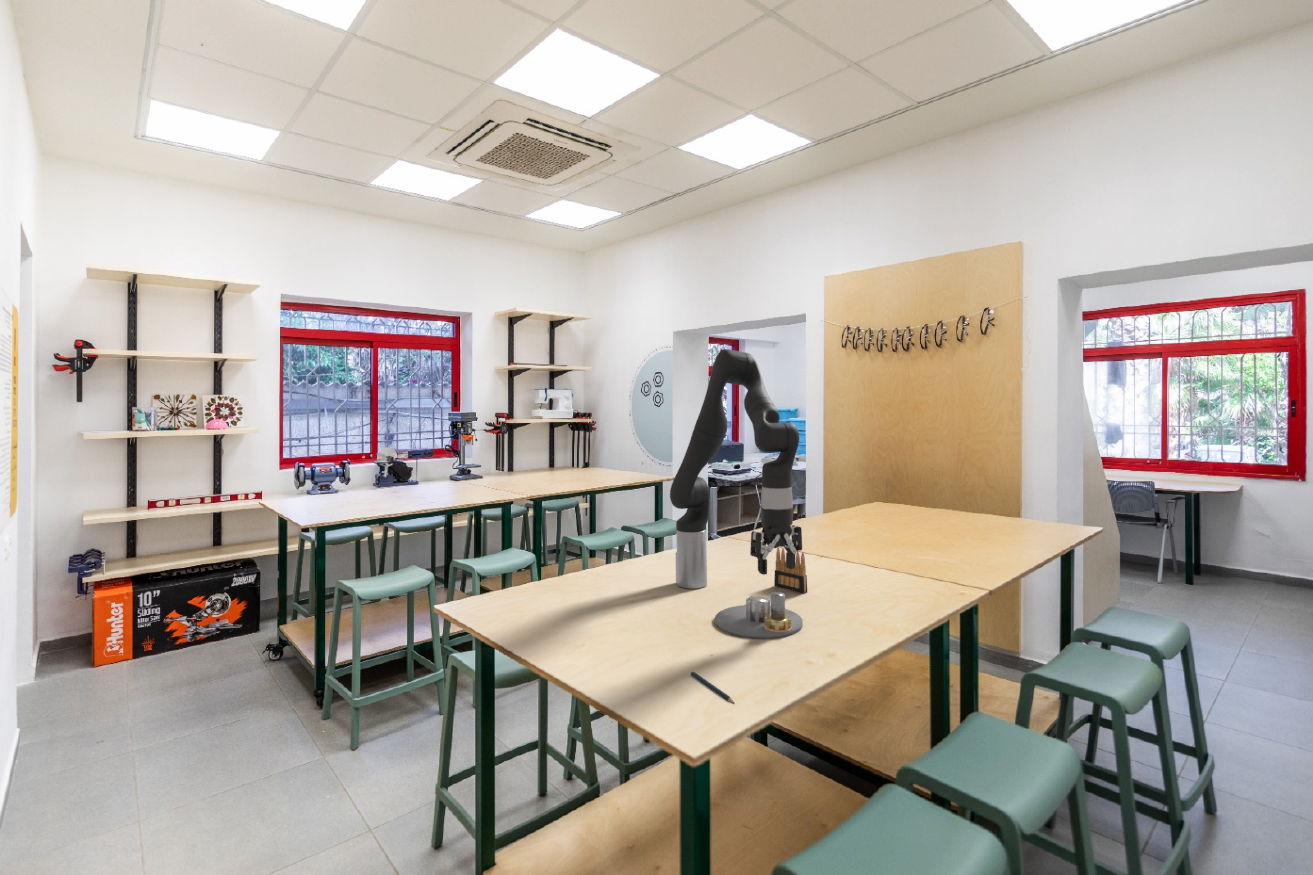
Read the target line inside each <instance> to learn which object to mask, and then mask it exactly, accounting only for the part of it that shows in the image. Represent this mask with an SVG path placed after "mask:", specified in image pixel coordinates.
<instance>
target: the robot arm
mask: <svg viewBox="0 0 1313 875" xmlns="http://www.w3.org/2000/svg"><path fill="white" fill-rule="evenodd" d="M726 384H730V385H734V386H735V385H736V386H743V387H744V388H745V389H746V390H747V392H746V394H745V396H744V401H743V404H744V410H745V413H746V414H747V416H748V418H749V420H750V422H751V423H752V428H753V434H754V435H753V436H754V443H755V446H756V448H757V449H758V450H759V451H761V452H762V453H779V454H778V456H777V457H776V459H774V460H770V461H768V462H766V463H764V464H762V467H761V474H762V475H761V493H760V523H761V525H762V530H761V531H755V530H753V531H751V534H750V552H749V554H750V556H751V557H755V558H757V572H758V573H759V574H760V575H763V576H764V575H768V559H767V557H768V556H769V554H770V553H771V552H772V551H773V550H774V549H776V548H778V547H779V548H780V547H781V548H783V549H784V551H786V552H785V561H786V567H787V568H788V569H794V566H795V564H796V554H797V551H798V552H800V551H802V550H803V537H802V536H803V535H802V527H801V526H798V525H793V523H794V522H793V520H794V519H793V518H794V516H793V514H794V512H793V509H794V505H793V504H794V503H793V500H794V498H793V490H792V486H793V485H792V483H793V482H792V477H793V476H792V475H793V474H792V470H793V466H794V463H795V458H796V454H797V450H798V448H799V444H800V432H799V429H798V428H797V426H796V425H795V424H794V423H792V422H780V413H779V410H778V409H777V407H776V405H775V404H774V402H773V400H772V399H771V397H770V395H769V394H768V392H767V389H766V386H765V384H764V380H763V376H762V374H761V371H760V367H759V365H758V362H757V360H756V358H755V356H754V355H752V354H751V353H748V352H744V351H739V350H735V349H728V348H724V349H721V350H720V351H719V352H718V353H717V356H716V357H715V359H714V361H713V364H712V369H711V373H710V377H709V380H708V385H707V389H706V392H705V396H704V399H703V402H702V405H701V408H700V411H699V414H698V417H697V418H696V419H697V420H696V422H695V425H694V428H693V430H692V433H691V436H690V440H689V443H688V446H687V448H686V451H685V453H684V456H683V459H682V461H681V464H680V466H679V468H678V470H677V473H676V474H675V477H674V479H673V480H672V483H671V486H670V490H669V498H670V503H671V504H672V506H673V507H675V508H676V509H678V510H679V509H680V510H685V509H686V512H685V513H684V514H683V515H682V516H681V517H680V518H678V519H677V520H676V524H675V525H676V526H675V527H676V528H675V529H676V532H675V533H676V534H675V535H676V552H675V583H676V584H677V586H678V587H679V588H682V589H689V590H690V589H693V590H694V589H701V588H704V587H706V586H707V585H708V565H707V564H708V563H707V562H708V555H707V554H708V553H707V552H708V551H707V546H708V545H707V524H708V522H709V515H710V508H709V507H710V488H709V485H708V483H707V481H706V480H705V479H704V478H703V477H701V476H699V474H700V473H701V472H702V470H703V469H704V468H705V467H706V466H707V465H708V464H709V462H710V461H711V460H712V459H713V458H714V457H715V456H716V455H717V453H718V452H719V451H720V449H721V447H722V445H723V442H724V440H725V437H726V434H727V431H728V420H727V415H726V411H725V409H724V404H723V393H724V389H725V386H726ZM787 552H788V553H787Z"/></svg>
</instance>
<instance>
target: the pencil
mask: <svg viewBox="0 0 1313 875" xmlns="http://www.w3.org/2000/svg"><path fill="white" fill-rule="evenodd" d="M690 675H691V677H693V678H695V680H697V681H699V682H700V683H702V685H704V686H706V687H707V688H709V689H710V690H711V691H713V692H714V691H715V693H716V694H717V695H718V696H720V697H722V698H723V699H724V700H726V701H727V702H729V703H731V704H735V701H734V700H733V698H732V697H731V696H729V695H728V694H727V693H725V692H724V691H722V690H721V689H719V688H718V687H717V686H715V685H714V684H712V683H710V682H709V681H708V680H707V679H705V678H704V677H702V676H701V675H699V674H698V673H696V672H695V671H691V672H690Z"/></svg>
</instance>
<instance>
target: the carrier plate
mask: <svg viewBox="0 0 1313 875" xmlns="http://www.w3.org/2000/svg"><path fill="white" fill-rule="evenodd" d="M770 614H771V599H769V597H768V596H762V595H757V596H756V595H755V596H753V595H751V596H749V597H746V599H745V604H743V605H736V606H731V607H728V608H727V607H726V608H724V609H722V610H720V611H718V612H717V613H716V614H715V617H714V624H715V626H716V627H717V628H718V629H719V630H721V631H722V632H725V633H726V634H729V635H732V636H736V637H741V638H742V637H743V638H748V639H757V640H758V639H759V640H760V639H761V640H762V639H763V640H765V639H766V640H769V639H772V640H773V639H780V638H785V637H788V636H789V637H790V636H792V635H795V634H797V633H799V632H800V631H801V630H802V628H803V627H804V626H803V618H802V617H801V615H800V614H798V613H796V612H794V611H792V610H790V609H787V608H785V616H786V615H787V616H789V619H791V626H792V627H791V628H788V630H786V631H785V630H779V631H775V630H773V629H767V626H765V617H768V615H770Z"/></svg>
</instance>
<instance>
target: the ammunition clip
mask: <svg viewBox="0 0 1313 875" xmlns="http://www.w3.org/2000/svg"><path fill="white" fill-rule="evenodd" d="M785 551H786V550H785V548H782V549H781V550H780V547H777V549H776V554H775V569H774V583H773V584H774V585H773V586H775V588H779V589H783V590H787V591H792V592H794V591H795V593H798V594H799V593H800V594H807V593H808V578H807V577H808V576H807V573H806V572H807V568H806V557H805V553H804V552H803V551H802V552H801V555H800V551H797V553H796V554H795V566H794V569H788V568H787V567H786V553H788V552H787V551H786V552H785Z"/></svg>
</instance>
